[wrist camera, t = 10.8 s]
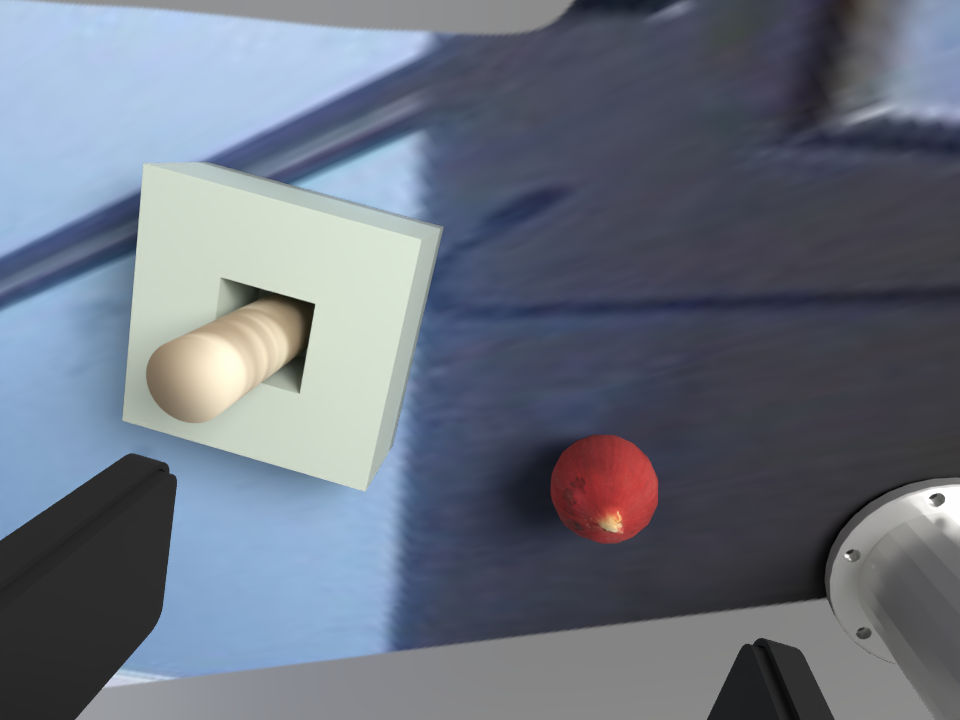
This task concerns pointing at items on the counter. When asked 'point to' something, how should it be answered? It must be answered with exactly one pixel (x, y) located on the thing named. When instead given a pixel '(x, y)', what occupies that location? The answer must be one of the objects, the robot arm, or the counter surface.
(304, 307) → the pin
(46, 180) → the counter surface
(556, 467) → the onion
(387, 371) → the hole block
